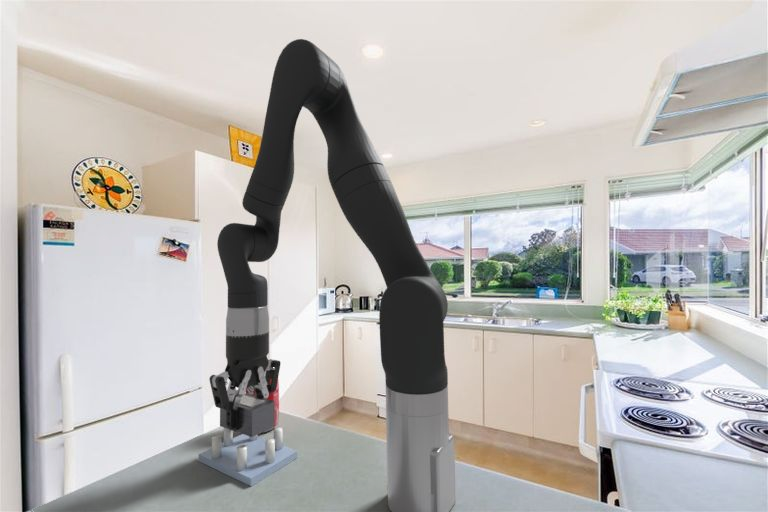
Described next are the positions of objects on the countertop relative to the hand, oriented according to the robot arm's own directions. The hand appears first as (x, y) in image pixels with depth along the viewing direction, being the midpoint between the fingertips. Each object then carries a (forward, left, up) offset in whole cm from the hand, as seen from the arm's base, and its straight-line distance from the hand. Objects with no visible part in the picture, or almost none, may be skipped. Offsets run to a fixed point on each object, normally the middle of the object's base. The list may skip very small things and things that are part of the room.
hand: (247, 423), depth 65 cm
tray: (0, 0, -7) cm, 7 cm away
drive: (0, 0, 0) cm, 0 cm away
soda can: (+8, -10, -7) cm, 15 cm away
